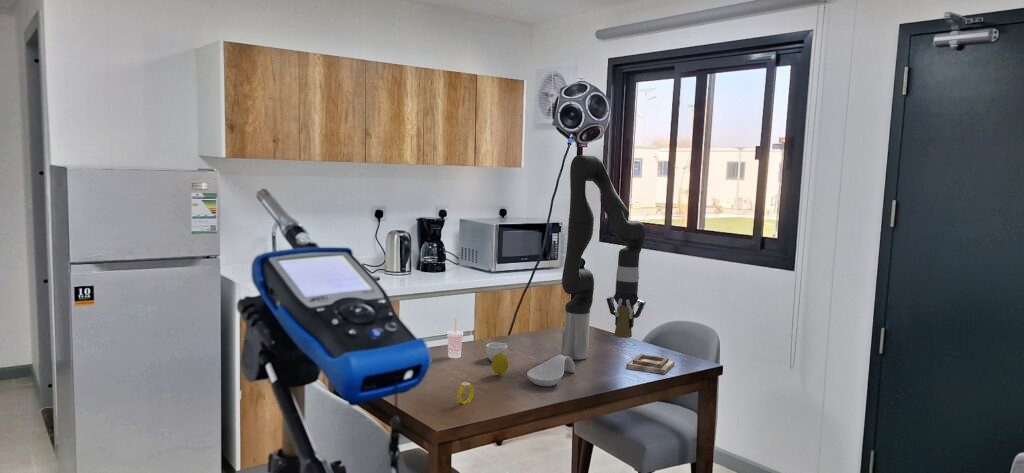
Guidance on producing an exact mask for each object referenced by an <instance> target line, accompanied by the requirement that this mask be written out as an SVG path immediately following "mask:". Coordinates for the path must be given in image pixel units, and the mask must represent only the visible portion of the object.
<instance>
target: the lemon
mask: <svg viewBox="0 0 1024 473" xmlns="http://www.w3.org/2000/svg"><path fill="white" fill-rule="evenodd" d="M491 367H492V370H493V372H494V373H495V374H497V375H498V376H502V375H503V374H504V373H506V372H507V371H508V368H509V359H508V357H507V354H506V355H505V354H503V353H502V352H500V353H498V354H496V355H495V356H494V357H493V360H491Z"/></svg>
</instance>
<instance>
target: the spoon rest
mask: <svg viewBox="0 0 1024 473" xmlns="http://www.w3.org/2000/svg"><path fill="white" fill-rule="evenodd" d="M564 372H568V373H572V374H574V373H576V365H575V362H574V359H572V358H571V357H569V356H566V357H565V356H563V355H561V354H557V355H555V356H554V357H552V358H549V359H548V360H546V361H544V362H543V363H540V364H539V365H537V366H534V367H532V368H530V369H529V370H528V371H527V373H526V375H527V378H528V379H529V380H530V382H532V383H533V384H535V385H536V386H540V387H547V388H548V387H553V386H554V385H557V384H558V383H559V382H560V381H561V380H562V378H563V376H564Z"/></svg>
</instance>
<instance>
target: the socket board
mask: <svg viewBox="0 0 1024 473" xmlns="http://www.w3.org/2000/svg"><path fill="white" fill-rule="evenodd" d="M625 366H626V369H632V370H637V371H642V372H649V373H655V374H660V373H662V374H661V375H666V374H667V373H668V372H669V371H671V369H672V368H674V366H675V360H671V359H670V358H669V357H663V356H658V355H652V354H645V353H640V354H637V355H636V356H635V357H632V359H631V360H630V361H628V362H627V363H626V364H625ZM666 372H667V373H666ZM665 373H666V374H665Z"/></svg>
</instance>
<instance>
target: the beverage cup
mask: <svg viewBox="0 0 1024 473" xmlns="http://www.w3.org/2000/svg"><path fill="white" fill-rule="evenodd" d="M446 335H447V352H448V353H447V355H448V358H451V359H459V358H461V357H462V349H463V348H462V346H463V336H464V332H463V331H461V330H457V318H455V319H454V330H448V331H447V332H446Z"/></svg>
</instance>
